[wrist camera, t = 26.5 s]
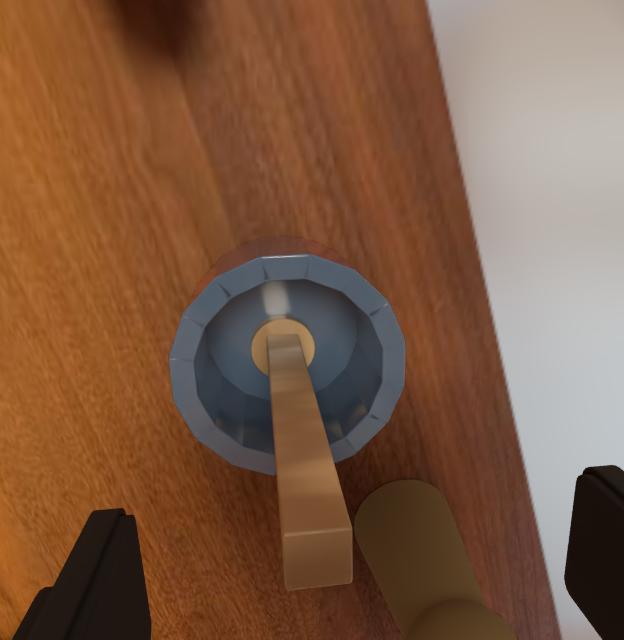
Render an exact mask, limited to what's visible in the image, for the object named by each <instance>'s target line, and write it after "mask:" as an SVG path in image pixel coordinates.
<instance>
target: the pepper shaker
mask: <svg viewBox="0 0 624 640" xmlns="http://www.w3.org/2000/svg"><path fill="white" fill-rule="evenodd" d="M354 533H355V537H356V541H357V543H358V545H359V548H360V550H361V552H362V554H363V556H364V558H365V560H366V562H367V564H368V566H369V568H370V570H371V572H372V574H373V576H374V579H375V581H376V583H377V585H378V587H379V589H380V591H381V593H382V595H383V597H384V599H385V601H386V603H387V605H388V608H389V610H390V612H391V614H392V616H393V618H394V620H395V622H396V624H397V626H398V628H399V630H400V632H401V634H402V637H403V639H404V640H518V639H517V638H516V636H515V634H514V633H513V631H512V630H511V628H510V627H509V625H508V624H507V623H506V622H505V621H504V620H503V619H502V617H501V616H500V615H499V614H498V613H496V612H494V611H493V610H491V609H490V608H488V607H487V606H486V603H485V601H484V598H483V595H482V592H481V590H480V587H479V584H478V582H477V579H476V576H475V574H474V571H473V568H472V566H471V563H470V560H469V558H468V555H467V552H466V549H465V547H464V544H463V541H462V539H461V536H460V533H459V531H458V528H457V525H456V523H455V520H454V517H453V515H452V512H451V509H450V506H449V504H448V502H447V500H446V499H445V497H444V495H443V494H442V492H441V491H440V490H438V489H437V488H435V487H434V486H433V485H431V484H430V483H426V482H423V481H419V480H416V479H409V480H397V481H394V482H390V483H387V484H384V485H383V486H381V487H379V488H378V489H376V490H375V491H373V492H371V493H370V494H369V496H368V497H367V498H366V499H365V500H364V501H363V502H362V503H361V505H360V507H359V509H358V511H357V513H356V515H355V521H354Z"/></svg>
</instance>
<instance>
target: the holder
mask: <svg viewBox="0 0 624 640" xmlns="http://www.w3.org/2000/svg"><path fill="white" fill-rule="evenodd" d="M276 315H290V316H293V317H296V318H298V319H300V320H301V321H302V322H304V323H305V324H306V325H307V327H308V328H309V330H310V332H311V334H312V337H313V339H314V344H315V352H314V356H313V359H312V361H311V363H310V365H309V366H308V371H309V375H310V378H311V382H312V385H313V389H314V393H315V396H316V400H317V403H318V407H319V411H320V414H321V418H322V421H323V425H324V428H325V432H326V436H327V439H328V443H329V446H330V450H331V454H332V457H333V461H334V464H336V463H338V462H340V461H342V460H345V459H347V458H349V457H351V456H353V455H355V454H356V453H357V452H359V451H360V450H361V449H362V448H363V447H364V446H365V445H366V444H367V443H368V442H369V441H370V440H371V439H372V438H373V437H374V436H375V435H376V434H377V433H378V432H379V431H380V430H381V429H382V428H383V427H384V426H385V425H386V423H388V421H389V419H390V417H391V415H392V412H393V410H394V408H395V406H396V403H397V401H398V399H399V397H400V394H401V392H402V390H403V388H404V383H405V347H406V344H405V339H404V336H403V334H402V331H401V329H400V327H399V324H398V322H397V319H396V317H395V315H394V312H393V310H392V307H391V305H390V303H389V302H388V300H387V299H386V298H385V297H384V296H383V295H382V294H381V293H380V292H379V291H378V290H377V289H375V288H374V287H373V286H372V285H371V284H370V283H369V282H368V281H367V280H366V279H365V278H364V277H363V276H362V275H361V274H360V273H359V272H358V271H356V270H355V269H354V268H353V267H352V266H351V265H350V264H349V263H348V262H347V261H346V260H345V259H344V258H343V257H342V256H341V255H340V254H338V253H337V252H336V251H335V250H333V249H331V248H328V247H326V246H324V245H321V244H319V243H317V242H314V241H311V240H308V239H304V238H301V237H292V236H274V237H265V238H260V239H256V240H253V241H250V242H248V243H245V244H243V245H240V246H239V247H237V248H235V249H233V250H231V251H230V252H228V253H227V254H225V255H223V256H222V257H221V258H220V259H219V260H218V261H217V262H216V263H215V264H214V265H213V266H212V267H211V268H210V269H209V271H208V272H207V273H206V275H205V276H204V277H203V278H202V279H201V280H200V282H199V283H198V284H197V286H196V288H195V290H194V292H193V294H192V296H191V298H190V300H189V302H188V304H187V306H186V308H185V310H184V312H183V314H182V316H181V319H180V322H179V325H178V328H177V331H176V335H175V338H174V341H173V344H172V347H171V350H170V353H169V359H168V361H169V369H170V377H171V386H172V394H173V400H174V404H175V405H176V407H177V409H178V410H179V412H180V414H181V415H182V417H183V418H184V420H185V422H186V423H187V425H188V427H189V428H190V430H191V432H192V433H193V435H194V437H195V438H196V439H197V440H198V441H199V442H201V443H202V444H204V445H205V446H206V447H208V448H209V449H210V450H212V451H213V452H215V453H216V454H217V455H219V456H220V457H222V458H223V459H224V460H226V461H227V462H228V463H230V464H232V465H233V466H237V467H240V468H244V469H248V470H252V471H256V472H260V473H263V474H267V475H271V476H274V475H276V465H275V452H274V439H273V426H272V413H271V399H270V386H269V376H267V375H265V374H264V373H263V372H261V371H260V370H259V369H258V368H257V367H256V365H255V363H254V361H253V359H252V356H251V339H252V335H253V333H254V331H255V329H256V328H257V327H258V325H259V324H260V323H262V322H263V321H264V320H266V319H268V318H270V317H272V316H276Z"/></svg>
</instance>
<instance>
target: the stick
mask: <svg viewBox="0 0 624 640" xmlns="http://www.w3.org/2000/svg"><path fill="white" fill-rule="evenodd" d="M314 352H315V344H314V339H313V337H312V334H311V332H310V330H309V328H308V327H307V325H306V324H305V323H304V322H302V321H301V320H300V319H298V318H296V317H293V316H290V315H276V316H272V317H270V318H268V319H266V320H264V321H263V322H262V323H260V324H259V325H258V327H257V328H256V329H255V331H254V333H253V335H252V339H251V356H252V359H253V361H254V363H255V365H256V367H257V368H258V369H259V370H260V371H261V372H263V373H264V374H265V375H267V376H269V386H270V399H271V413H272V426H273V439H274V452H275V465H276V479H277V492H278V505H279V518H280V531H281V545H282V558H283V571H284V584H285V588H286V590H298V589H306V588H315V587H324V586H333V585H341V584H349V583H351V582H352V579H353V558H352V526H351V522H350V518H349V515H348V511H347V508H346V504H345V500H344V497H343V493H342V490H341V486H340V482H339V479H338V475H337V472H336V468H335V464H334V461H333V457H332V454H331V450H330V446H329V443H328V439H327V436H326V432H325V428H324V425H323V421H322V418H321V414H320V411H319V407H318V403H317V400H316V396H315V393H314V389H313V385H312V382H311V378H310V375H309V371H308V366H309V365H310V363H311V361H312V359H313V356H314Z"/></svg>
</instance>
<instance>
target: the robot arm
mask: <svg viewBox="0 0 624 640" xmlns="http://www.w3.org/2000/svg"><path fill="white" fill-rule="evenodd" d="M564 580H565V585H566V588H567V590H568V593H569V595H570V596H571V598H572V599H573V600H574V602H575V603H576V604H577V606H578V607H579V608H580V610H581V611H582V612H583V614H584V615H585V617H586V618H587V619H588V621H589V622H590V623H591V625H592V626H593V627H594V629H595V630H596V632H597V633H598V634H599V636H600V637H601V638H602V640H624V471H623V470H622V469H620V468H619V467H617V466H614V465H608V466H597V467H596V466H595V467H588V468H585V470H584V471H583V474H582V475H580V476H578V478H577V481H576V487H575V495H574V503H573V511H572V519H571V527H570V536H569V544H568V551H567V559H566V567H565V575H564ZM150 638H151V617H150V610H149V604H148V597H147V591H146V584H145V578H144V571H143V565H142V558H141V552H140V545H139V539H138V533H137V526H136V520H135V517H134V515H126V512H125V510H124V509H123V508H118V509H107V510H96V511H93V512H92V513H91V514H90V516H89V518H88V520H87V522H86V524H85V526H84V528H83V530H82V532H81V534H80V536H79V538H78V539H77V541H76V543H75V545H74V547H73V549H72V551H71V553H70V555H69V557H68V559H67V561H66V563H65V565H64V567H63V569H62V571H61V572H60V574H59V576H58V578H57V580H56V582H55V584H54V586H53V587H44V588H43V589H42V590H40V591H39V593H38V594H37V596H36V597H35V598H34V600H33V602H32V604H31V606H30V608H29V609H28V611H27V613H26V615H25V617H24V619H23V620H22V622H21V624H20V626H19V628H18V630H17V631H16V633H15V635H14V637H13V639H12V640H150Z"/></svg>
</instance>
